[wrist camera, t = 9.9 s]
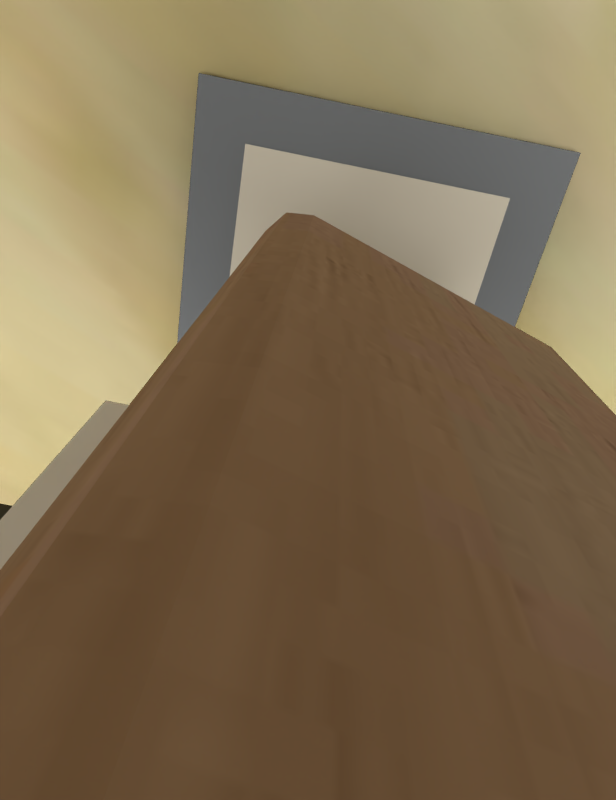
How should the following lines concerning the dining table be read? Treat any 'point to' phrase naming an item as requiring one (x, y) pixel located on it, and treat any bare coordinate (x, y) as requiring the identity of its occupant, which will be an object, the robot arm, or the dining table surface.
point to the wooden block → (325, 559)
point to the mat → (367, 191)
